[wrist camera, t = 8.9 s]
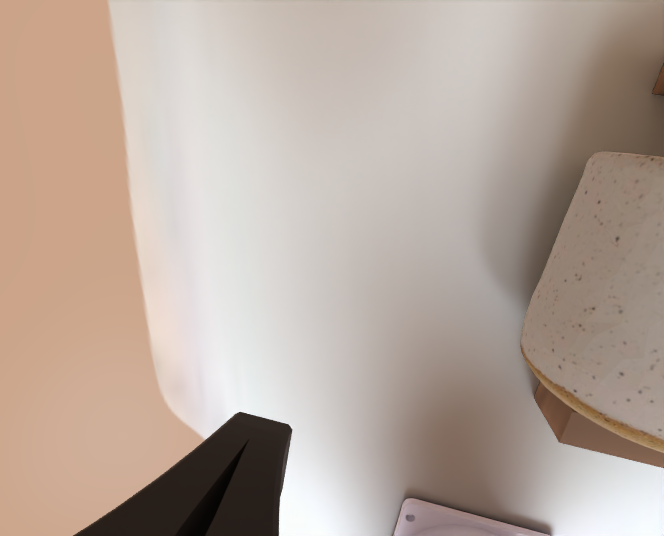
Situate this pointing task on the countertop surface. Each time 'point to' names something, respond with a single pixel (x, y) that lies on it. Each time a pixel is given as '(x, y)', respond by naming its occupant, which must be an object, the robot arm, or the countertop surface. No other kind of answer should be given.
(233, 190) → the countertop surface
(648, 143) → the countertop surface
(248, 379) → the countertop surface
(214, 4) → the countertop surface
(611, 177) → the ceramic mug
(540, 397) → the brown wooden tray
